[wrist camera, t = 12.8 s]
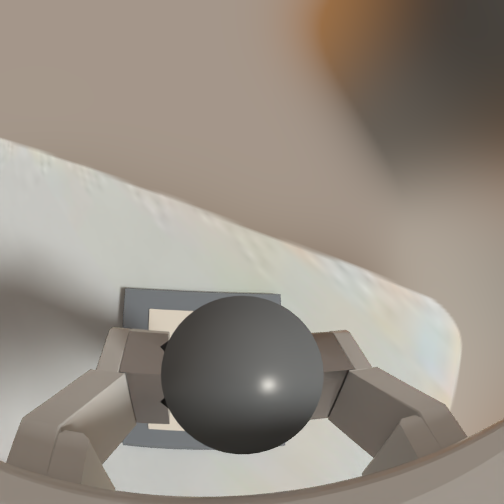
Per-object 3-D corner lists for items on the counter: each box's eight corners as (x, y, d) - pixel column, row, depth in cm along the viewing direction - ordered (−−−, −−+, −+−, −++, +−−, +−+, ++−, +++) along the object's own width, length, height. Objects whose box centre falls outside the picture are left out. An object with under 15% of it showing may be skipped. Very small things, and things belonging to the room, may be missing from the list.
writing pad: (124, 443, 19) (122, 445, 18) (126, 289, 23) (125, 287, 23) (283, 444, 21) (285, 445, 20) (278, 295, 25) (280, 294, 25)
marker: (179, 403, 15) (157, 458, 5) (179, 341, 16) (158, 287, 6) (244, 403, 15) (329, 448, 5) (242, 342, 17) (322, 291, 7)
